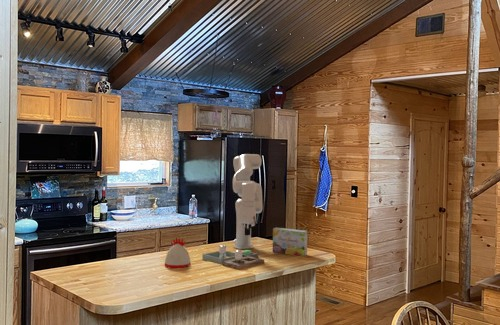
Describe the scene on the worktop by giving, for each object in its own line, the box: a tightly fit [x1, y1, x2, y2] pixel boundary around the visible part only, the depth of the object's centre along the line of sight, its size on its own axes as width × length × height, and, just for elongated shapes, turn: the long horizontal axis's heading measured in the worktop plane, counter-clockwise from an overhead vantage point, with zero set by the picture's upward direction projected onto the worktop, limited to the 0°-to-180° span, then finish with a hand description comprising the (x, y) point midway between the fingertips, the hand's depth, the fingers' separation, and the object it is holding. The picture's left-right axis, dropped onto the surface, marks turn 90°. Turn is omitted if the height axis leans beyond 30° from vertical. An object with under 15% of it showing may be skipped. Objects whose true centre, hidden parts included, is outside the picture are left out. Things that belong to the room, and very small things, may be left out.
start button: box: [243, 249, 252, 255], centre depth 282 cm, size 4×4×4 cm
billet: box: [218, 244, 227, 259], centre depth 276 cm, size 4×4×8 cm
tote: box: [201, 250, 243, 265], centre depth 276 cm, size 16×16×4 cm
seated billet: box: [234, 249, 243, 264], centre depth 261 cm, size 4×4×8 cm
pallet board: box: [222, 256, 265, 271], centre depth 264 cm, size 12×20×3 cm, turn 136°
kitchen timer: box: [164, 237, 191, 269], centre depth 264 cm, size 14×14×15 cm
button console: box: [242, 251, 259, 258], centre depth 282 cm, size 9×9×3 cm
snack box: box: [272, 227, 308, 257], centre depth 297 cm, size 21×6×15 cm, turn 62°
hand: (247, 234), depth 282 cm, fingers closed
